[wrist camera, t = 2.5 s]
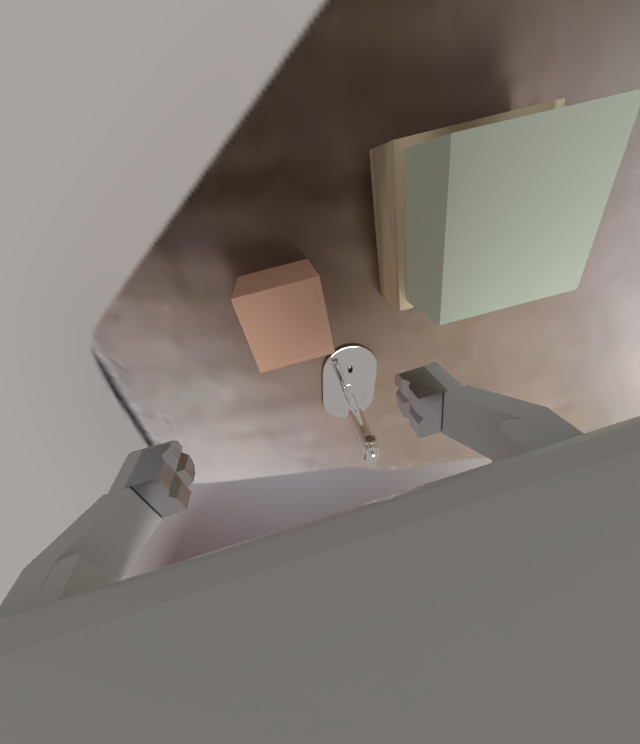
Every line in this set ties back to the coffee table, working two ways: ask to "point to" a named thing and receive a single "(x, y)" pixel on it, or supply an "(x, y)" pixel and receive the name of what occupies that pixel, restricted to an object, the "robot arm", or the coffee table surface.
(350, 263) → the coffee table surface
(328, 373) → the stand
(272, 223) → the coffee table surface
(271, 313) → the terracotta block
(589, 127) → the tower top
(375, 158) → the tower base
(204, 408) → the coffee table surface
